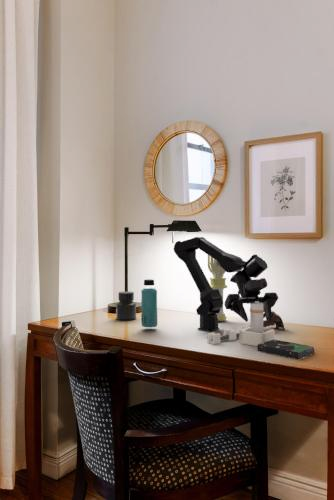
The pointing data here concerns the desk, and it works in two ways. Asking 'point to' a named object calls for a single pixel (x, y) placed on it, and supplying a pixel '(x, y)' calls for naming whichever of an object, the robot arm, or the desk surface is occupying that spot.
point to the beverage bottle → (149, 305)
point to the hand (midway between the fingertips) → (258, 320)
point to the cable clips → (226, 332)
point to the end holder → (255, 337)
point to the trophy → (217, 282)
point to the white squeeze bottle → (256, 317)
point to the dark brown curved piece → (273, 321)
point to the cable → (226, 337)
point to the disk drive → (285, 349)
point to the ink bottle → (126, 306)
